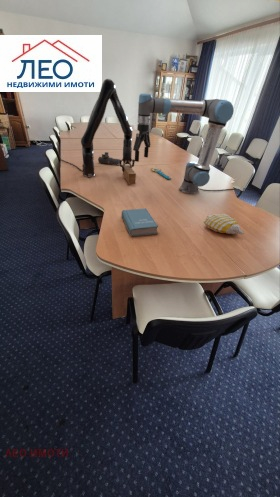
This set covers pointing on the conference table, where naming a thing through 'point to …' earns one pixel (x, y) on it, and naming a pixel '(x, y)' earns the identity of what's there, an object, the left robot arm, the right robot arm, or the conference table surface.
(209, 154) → the right robot arm
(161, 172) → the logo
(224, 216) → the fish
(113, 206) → the conference table surface
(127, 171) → the bar
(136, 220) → the book
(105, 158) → the laser sight
